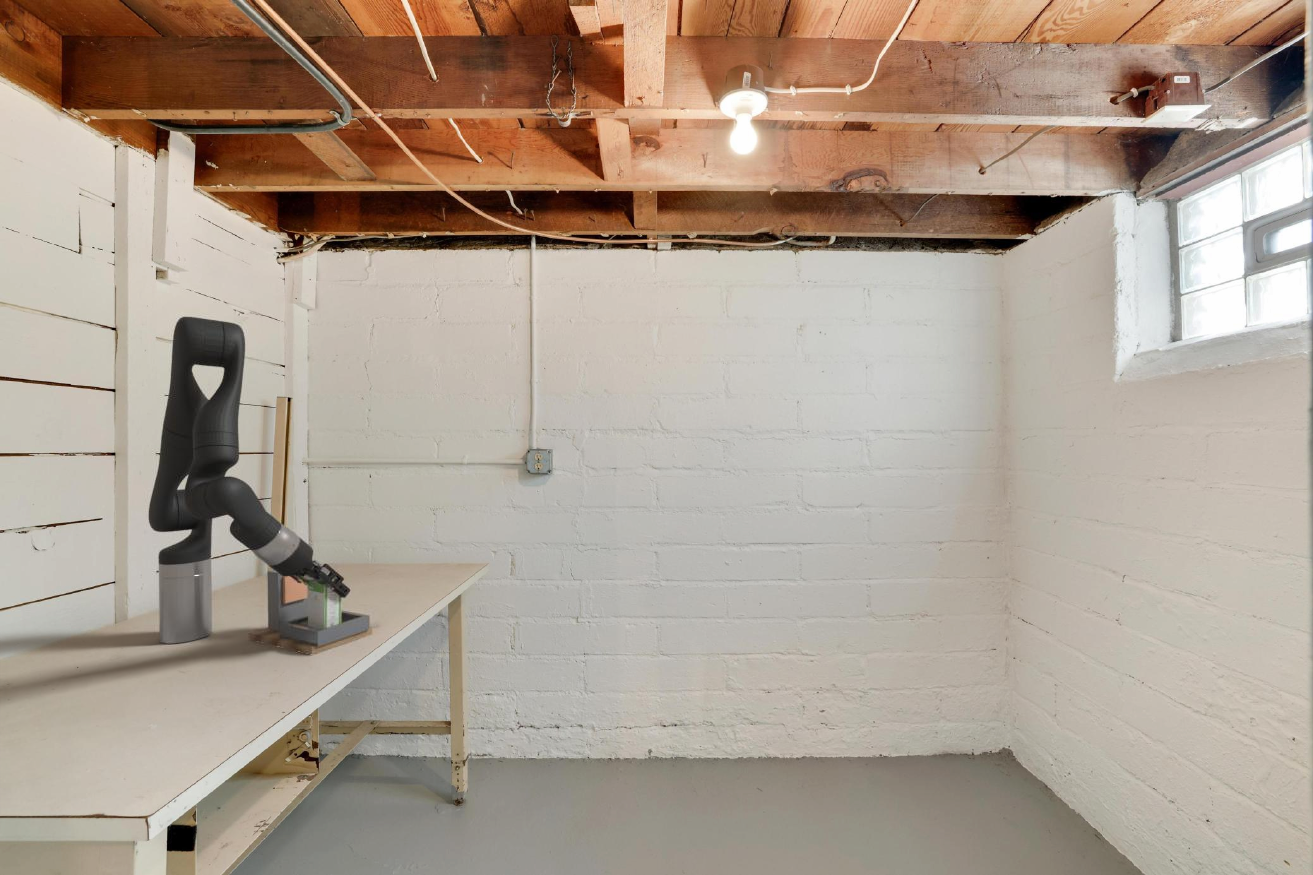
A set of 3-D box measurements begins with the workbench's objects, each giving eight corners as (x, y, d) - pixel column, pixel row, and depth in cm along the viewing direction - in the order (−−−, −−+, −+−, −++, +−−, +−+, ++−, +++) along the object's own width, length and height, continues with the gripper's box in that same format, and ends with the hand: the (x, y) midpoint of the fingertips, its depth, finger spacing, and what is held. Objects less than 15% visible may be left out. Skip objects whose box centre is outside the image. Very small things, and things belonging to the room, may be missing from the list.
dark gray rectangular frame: (263, 633, 128) (262, 620, 128) (316, 618, 139) (315, 605, 139) (318, 646, 119) (317, 631, 119) (369, 628, 130) (369, 615, 130)
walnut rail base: (249, 639, 129) (249, 632, 129) (310, 621, 141) (310, 615, 141) (311, 655, 119) (311, 647, 119) (372, 633, 131) (372, 627, 131)
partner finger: (268, 628, 131) (267, 571, 131) (299, 619, 138) (298, 564, 138) (281, 631, 129) (280, 573, 129) (311, 622, 135) (311, 566, 135)
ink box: (342, 627, 127) (342, 565, 127) (324, 632, 124) (323, 569, 124) (325, 622, 131) (325, 562, 131) (307, 627, 128) (306, 566, 128)
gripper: (316, 536, 119) (367, 580, 129) (274, 532, 125) (326, 574, 135) (290, 567, 114) (345, 611, 124) (247, 561, 120) (303, 603, 131)
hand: (335, 592), depth 130 cm, fingers closed on ink box, 7 cm apart
